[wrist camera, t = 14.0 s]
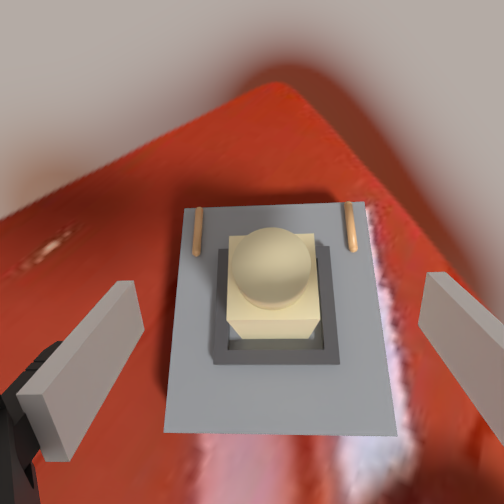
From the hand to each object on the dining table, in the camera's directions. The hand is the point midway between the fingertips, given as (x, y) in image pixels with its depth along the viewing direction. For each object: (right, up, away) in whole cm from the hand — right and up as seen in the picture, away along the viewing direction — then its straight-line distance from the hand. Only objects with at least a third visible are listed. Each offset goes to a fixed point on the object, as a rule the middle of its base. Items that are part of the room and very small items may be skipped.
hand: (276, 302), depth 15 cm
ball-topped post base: (+1, -3, +15) cm, 15 cm away
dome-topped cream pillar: (+1, -2, +11) cm, 11 cm away
